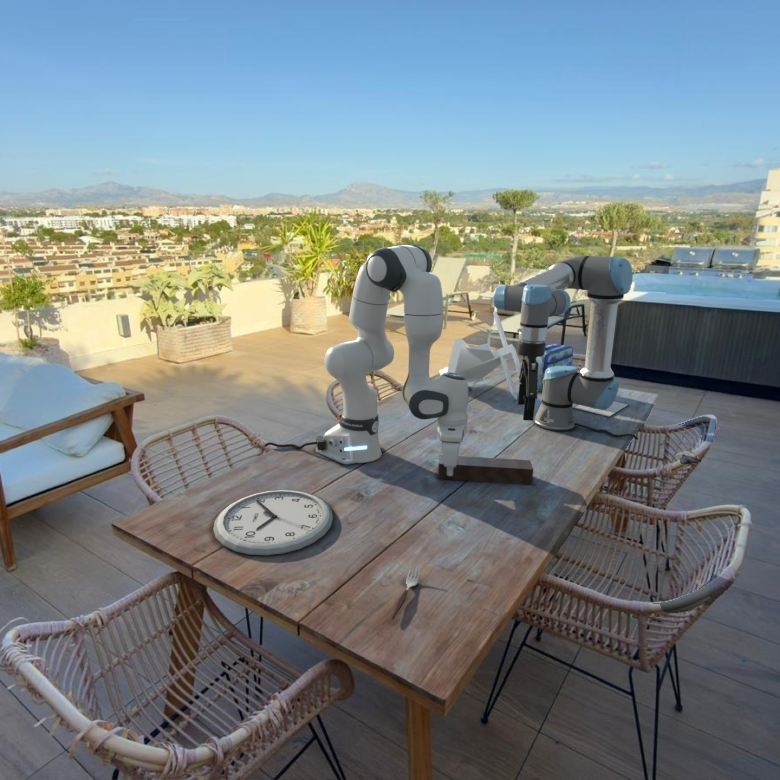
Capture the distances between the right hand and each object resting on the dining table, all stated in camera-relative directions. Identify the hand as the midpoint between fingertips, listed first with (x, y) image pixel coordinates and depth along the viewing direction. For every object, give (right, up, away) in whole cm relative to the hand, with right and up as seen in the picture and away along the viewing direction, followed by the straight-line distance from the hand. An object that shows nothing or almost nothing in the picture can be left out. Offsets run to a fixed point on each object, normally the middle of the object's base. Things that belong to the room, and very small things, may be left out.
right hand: (524, 412), depth 153 cm
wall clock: (-69, -27, -19) cm, 77 cm away
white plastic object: (+2, +5, +90) cm, 90 cm away
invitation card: (+52, -1, +73) cm, 89 cm away
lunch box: (+37, +7, +98) cm, 105 cm away
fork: (-37, -36, -45) cm, 69 cm away
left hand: (-21, -18, +7) cm, 28 cm away
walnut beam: (-11, -20, +7) cm, 24 cm away
